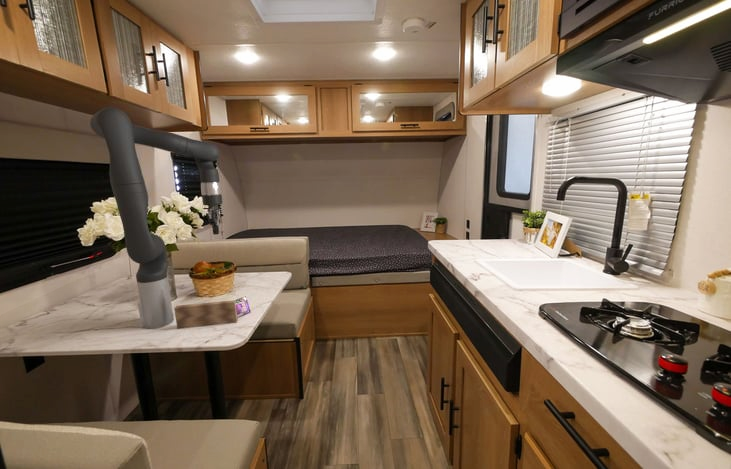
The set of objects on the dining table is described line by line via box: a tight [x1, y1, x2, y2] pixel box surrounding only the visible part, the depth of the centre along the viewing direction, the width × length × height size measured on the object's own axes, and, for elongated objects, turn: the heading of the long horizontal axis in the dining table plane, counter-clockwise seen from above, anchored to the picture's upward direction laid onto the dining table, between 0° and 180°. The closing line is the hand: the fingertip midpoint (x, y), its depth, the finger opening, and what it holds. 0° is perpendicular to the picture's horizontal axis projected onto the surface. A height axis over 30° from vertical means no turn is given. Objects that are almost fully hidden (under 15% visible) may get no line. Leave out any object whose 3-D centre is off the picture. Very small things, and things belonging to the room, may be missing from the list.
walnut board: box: [173, 299, 239, 330], centre depth 113 cm, size 20×2×8 cm, turn 102°
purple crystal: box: [235, 296, 252, 319], centre depth 121 cm, size 7×5×9 cm
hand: (216, 234), depth 133 cm, fingers closed
